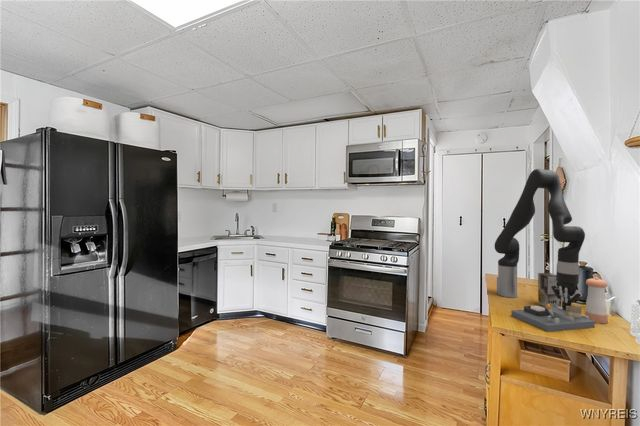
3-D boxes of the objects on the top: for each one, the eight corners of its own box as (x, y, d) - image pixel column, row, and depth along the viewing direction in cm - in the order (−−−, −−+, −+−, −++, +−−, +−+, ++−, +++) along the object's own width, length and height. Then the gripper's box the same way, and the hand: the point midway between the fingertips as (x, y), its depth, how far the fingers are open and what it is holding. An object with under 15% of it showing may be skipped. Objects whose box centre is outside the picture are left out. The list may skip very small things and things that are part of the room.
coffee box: (562, 309, 144) (562, 276, 144) (547, 308, 145) (547, 276, 145) (551, 303, 153) (551, 272, 153) (537, 302, 154) (537, 272, 154)
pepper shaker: (612, 322, 127) (612, 278, 126) (598, 324, 125) (598, 279, 125) (594, 316, 134) (594, 275, 134) (580, 317, 133) (580, 275, 132)
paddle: (566, 317, 126) (566, 306, 126) (577, 316, 127) (577, 305, 127) (569, 318, 125) (569, 307, 125) (581, 317, 126) (581, 306, 126)
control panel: (511, 315, 136) (511, 306, 136) (553, 312, 140) (553, 303, 140) (548, 331, 118) (548, 320, 118) (594, 327, 122) (594, 316, 122)
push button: (527, 311, 134) (527, 305, 134) (537, 310, 135) (537, 305, 135) (538, 315, 129) (538, 309, 129) (547, 314, 130) (548, 308, 130)
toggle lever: (549, 318, 123) (543, 304, 122) (552, 316, 123) (547, 302, 123) (553, 320, 121) (548, 306, 120) (557, 317, 121) (552, 304, 121)
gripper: (590, 275, 122) (589, 315, 123) (559, 267, 135) (558, 304, 136) (576, 275, 121) (574, 317, 122) (546, 268, 134) (545, 305, 135)
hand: (566, 310), depth 129 cm, fingers closed
